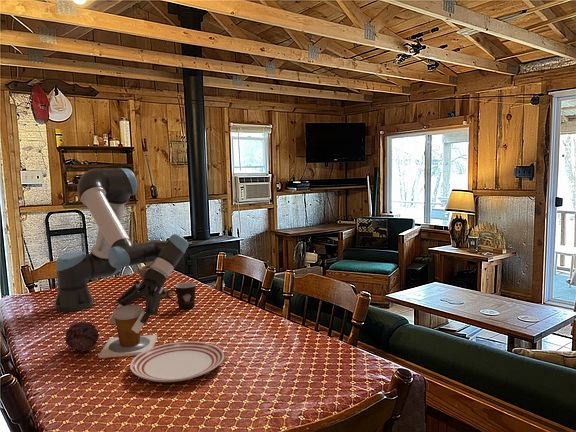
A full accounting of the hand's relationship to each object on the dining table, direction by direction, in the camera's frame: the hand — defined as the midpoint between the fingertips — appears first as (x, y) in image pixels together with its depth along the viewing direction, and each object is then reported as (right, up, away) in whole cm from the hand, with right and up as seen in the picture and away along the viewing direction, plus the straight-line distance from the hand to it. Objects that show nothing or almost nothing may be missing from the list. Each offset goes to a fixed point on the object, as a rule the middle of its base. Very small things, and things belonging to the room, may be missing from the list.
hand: (122, 327), depth 142 cm
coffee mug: (+10, -3, +43) cm, 44 cm away
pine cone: (-13, -8, 0) cm, 15 cm away
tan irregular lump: (-8, -1, +61) cm, 62 cm away
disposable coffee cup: (+1, -6, +3) cm, 7 cm away
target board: (+1, -7, +3) cm, 8 cm away
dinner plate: (+22, -9, -13) cm, 27 cm away
